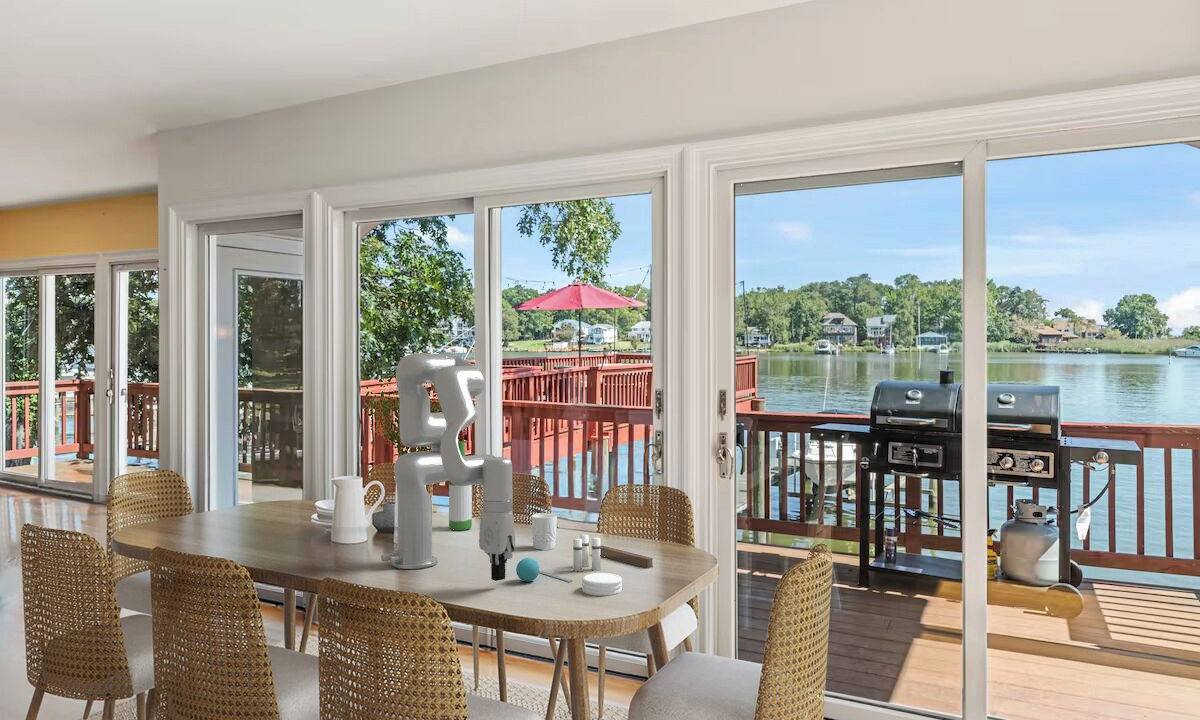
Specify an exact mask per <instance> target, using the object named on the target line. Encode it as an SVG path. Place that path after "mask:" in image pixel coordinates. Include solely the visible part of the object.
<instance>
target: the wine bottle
mask: <svg viewBox="0 0 1200 720" xmlns="http://www.w3.org/2000/svg"><path fill="white" fill-rule="evenodd" d="M465 443H466V442H465V441H458V447H459V450H460V453H461V456H466V444H465ZM472 496H473V485H468V486H456V485H454V484H452V483H451V482H450V480H448V528H449V529H450V530H451V529H454V530H464V531H467V530H466V529H469V530H470V529H471V528H472V526H473V524H472V523H473V520H472V519H473V501H472V500H473V497H472ZM454 530H453V531H454Z"/></svg>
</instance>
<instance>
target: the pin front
mask: <svg viewBox="0 0 1200 720" xmlns="http://www.w3.org/2000/svg"><path fill="white" fill-rule="evenodd" d="M572 544H573V545H572V548H573V553H572V554H573V556H572V557H573V558H572V559H573V564H572V565H573V566H572V567H573V569H572V570H574V571H573V572H577V571H579V572H582V571H583V567H582V539H580V537H579V538H573V543H572Z"/></svg>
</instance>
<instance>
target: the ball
mask: <svg viewBox="0 0 1200 720" xmlns="http://www.w3.org/2000/svg"><path fill="white" fill-rule="evenodd" d="M539 570H540V565H539V563H538V562H537V561H536V560H535V559H533V558H532V557H526V558H525V557H524V558H522V559H521V560H520V561H519V562H518V563H517V565H516V569H515V572H516V575H517V577H518V578H519V580H521V581H523V582H525V583H528V582H529V583H530V582H532V581H534V580H535V579H537V578H538V576H539V574H540V573H539Z"/></svg>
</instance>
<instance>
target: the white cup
mask: <svg viewBox="0 0 1200 720" xmlns="http://www.w3.org/2000/svg"><path fill="white" fill-rule="evenodd" d="M557 525H558V515H557V514H555V513H548V512H544V513H542V512H541V513H534V514H532V515H531V534H532V540H533V541H532V543H533V544H532V545H533V547H534V548H536V549H551V548H554V547H555V548H556V542H557V541H556V539H557V531H558V529H557V527H558V526H557ZM534 548H533V549H534ZM555 548H554V549H555ZM536 549H535V550H536ZM551 550H552V549H551Z"/></svg>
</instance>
